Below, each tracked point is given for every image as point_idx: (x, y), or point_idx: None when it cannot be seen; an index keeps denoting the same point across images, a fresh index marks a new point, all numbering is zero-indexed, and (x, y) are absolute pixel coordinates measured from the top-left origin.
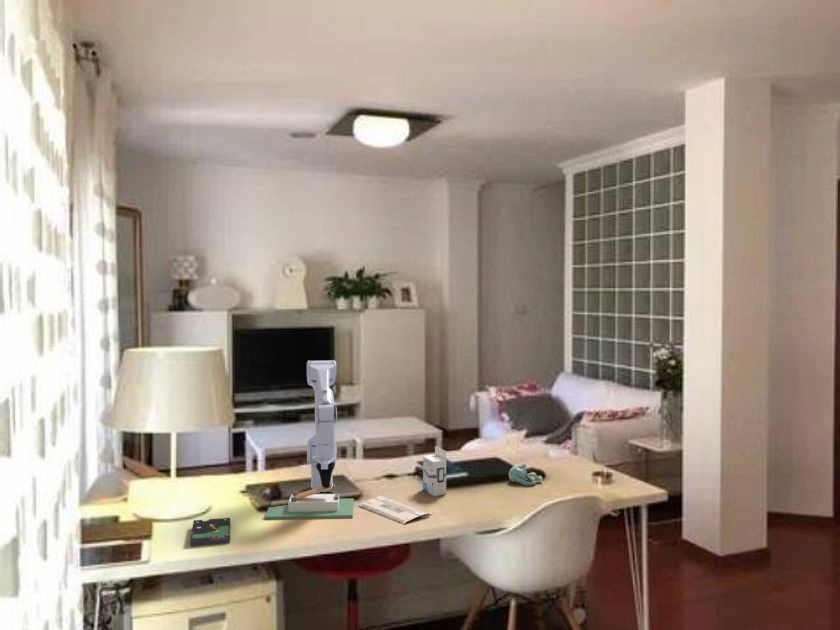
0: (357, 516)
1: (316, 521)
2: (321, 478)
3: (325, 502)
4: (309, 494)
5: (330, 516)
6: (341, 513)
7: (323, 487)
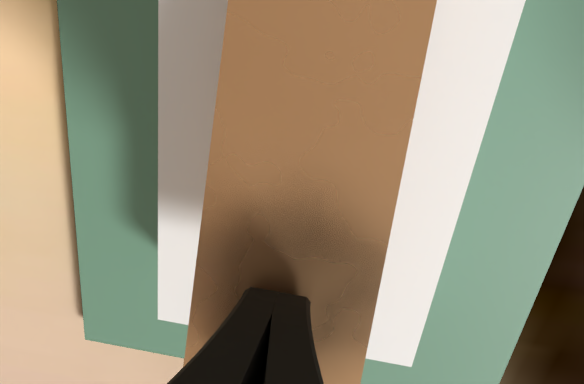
0: (122, 355)
1: (2, 67)
2: (183, 375)
3: (160, 214)
4: (222, 72)
5: (75, 193)
6: (121, 279)
7: (292, 291)
